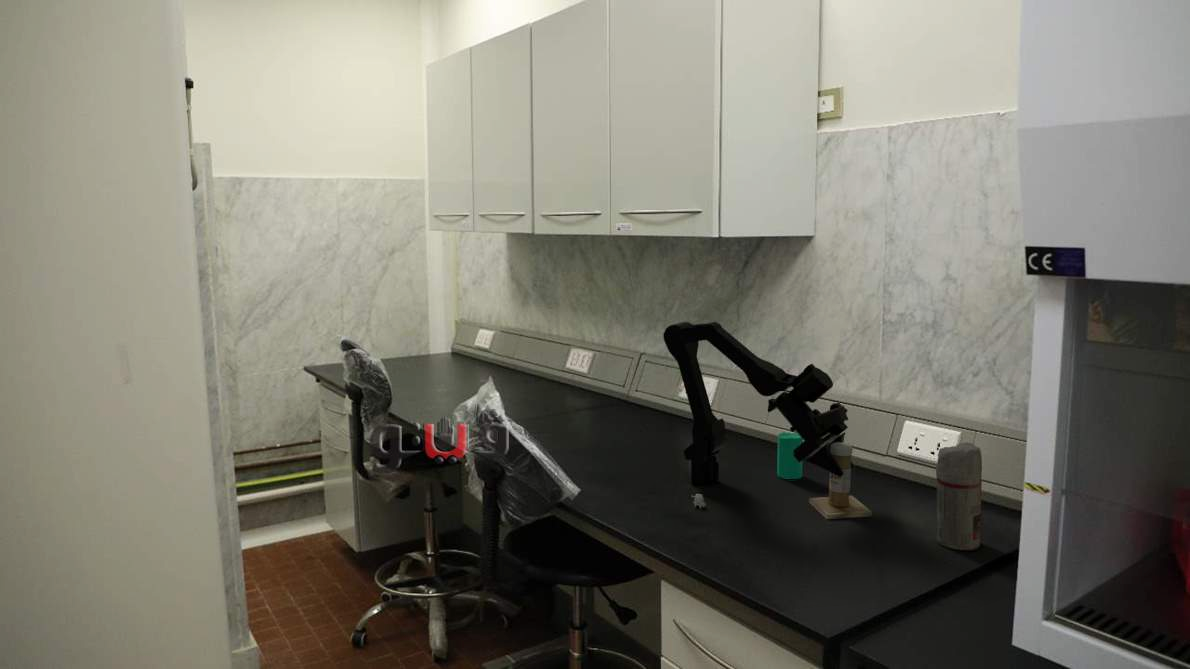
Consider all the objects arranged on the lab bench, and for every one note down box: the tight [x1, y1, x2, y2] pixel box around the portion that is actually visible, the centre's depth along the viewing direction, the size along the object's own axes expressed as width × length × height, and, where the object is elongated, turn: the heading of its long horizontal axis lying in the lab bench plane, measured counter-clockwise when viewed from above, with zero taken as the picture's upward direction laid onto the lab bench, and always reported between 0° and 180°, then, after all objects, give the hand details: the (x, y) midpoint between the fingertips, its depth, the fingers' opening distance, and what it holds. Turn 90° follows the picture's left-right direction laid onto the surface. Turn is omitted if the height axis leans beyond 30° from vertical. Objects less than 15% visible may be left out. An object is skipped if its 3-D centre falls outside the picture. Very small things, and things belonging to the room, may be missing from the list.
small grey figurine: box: [691, 493, 706, 509], centre depth 180 cm, size 3×3×3 cm
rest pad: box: [808, 495, 873, 520], centre depth 177 cm, size 10×10×1 cm
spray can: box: [935, 442, 983, 551], centre depth 156 cm, size 8×8×20 cm
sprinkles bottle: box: [828, 442, 853, 507], centre depth 176 cm, size 5×5×13 cm
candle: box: [776, 429, 804, 480], centre depth 198 cm, size 6×6×12 cm
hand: (847, 471), depth 175 cm, fingers open, 6 cm apart
